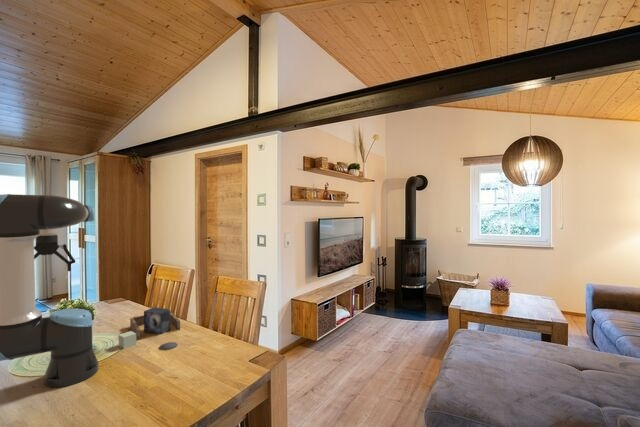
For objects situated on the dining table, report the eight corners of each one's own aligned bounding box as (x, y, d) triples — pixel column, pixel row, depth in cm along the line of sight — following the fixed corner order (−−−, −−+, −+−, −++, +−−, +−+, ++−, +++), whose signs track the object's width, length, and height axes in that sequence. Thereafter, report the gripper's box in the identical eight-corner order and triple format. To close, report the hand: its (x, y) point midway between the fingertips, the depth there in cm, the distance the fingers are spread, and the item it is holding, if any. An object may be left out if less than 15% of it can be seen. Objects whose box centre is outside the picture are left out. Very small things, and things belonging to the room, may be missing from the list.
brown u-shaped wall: (180, 329, 151) (180, 320, 151) (137, 339, 139) (137, 330, 139) (169, 318, 166) (169, 310, 166) (130, 326, 154) (130, 318, 154)
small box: (142, 332, 148) (142, 311, 147) (153, 327, 154) (153, 306, 154) (160, 335, 144) (160, 313, 144) (170, 329, 151) (170, 308, 151)
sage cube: (136, 344, 134) (136, 333, 134) (123, 349, 130) (123, 337, 130) (131, 341, 137) (131, 330, 137) (118, 346, 133) (118, 334, 133)
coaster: (179, 346, 132) (179, 346, 132) (161, 351, 127) (161, 350, 127) (174, 341, 137) (174, 340, 137) (157, 345, 133) (157, 345, 133)
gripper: (80, 232, 151) (81, 275, 151) (9, 235, 134) (9, 283, 134) (81, 233, 145) (82, 277, 145) (7, 236, 129) (7, 286, 129)
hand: (47, 280), depth 140 cm, fingers open, 13 cm apart
